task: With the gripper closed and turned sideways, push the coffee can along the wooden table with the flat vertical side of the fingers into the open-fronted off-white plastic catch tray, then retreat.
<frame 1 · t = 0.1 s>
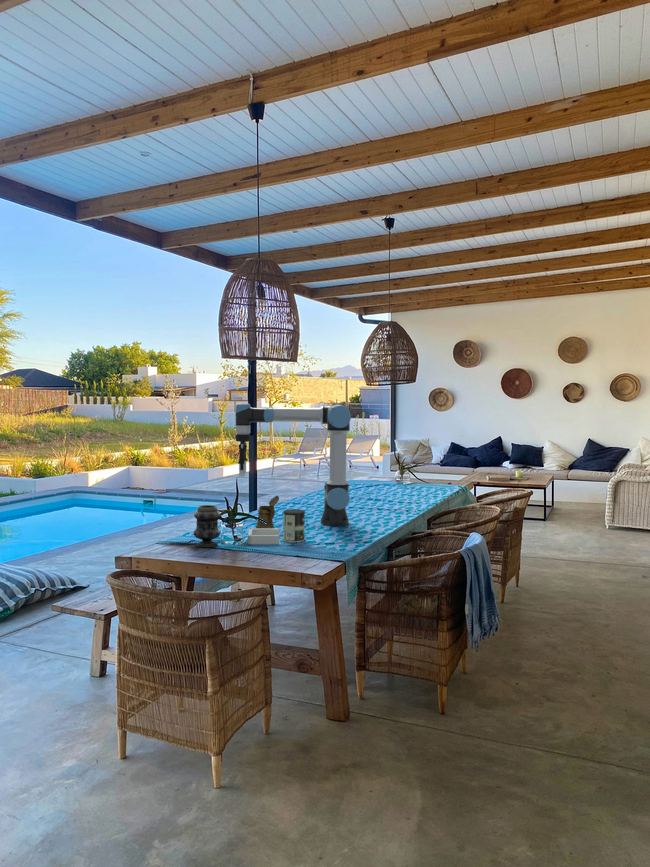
hand: (242, 474, 319), 28 cm above the table, fingers open, 13 cm apart
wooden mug: (267, 528, 322), on the table
catch tray: (265, 540, 295), on the table
stone vase: (207, 545, 284), on the table
coffee can: (293, 540, 296), on the table
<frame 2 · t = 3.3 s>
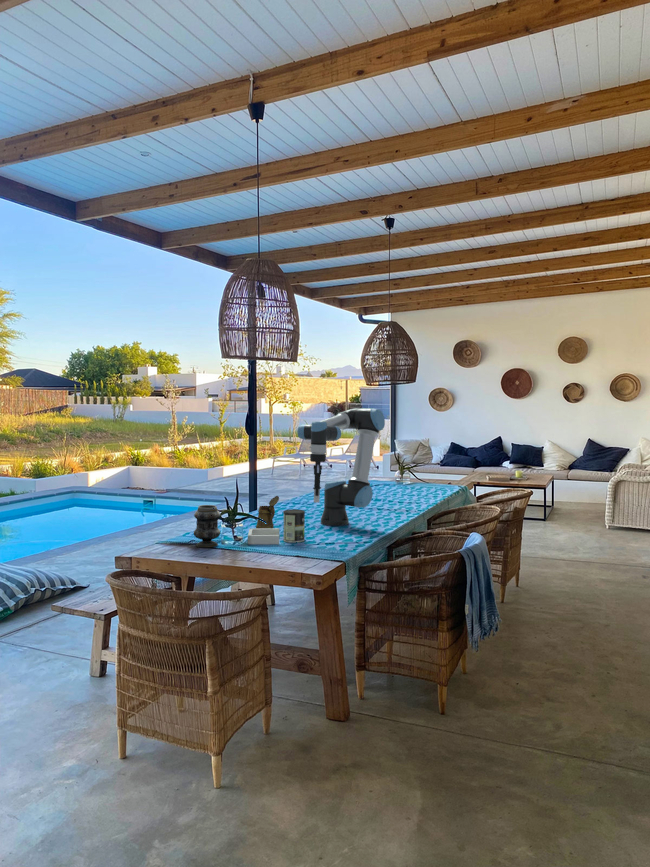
hand: (316, 502, 298), 18 cm above the table, fingers closed
nothing on the table moved.
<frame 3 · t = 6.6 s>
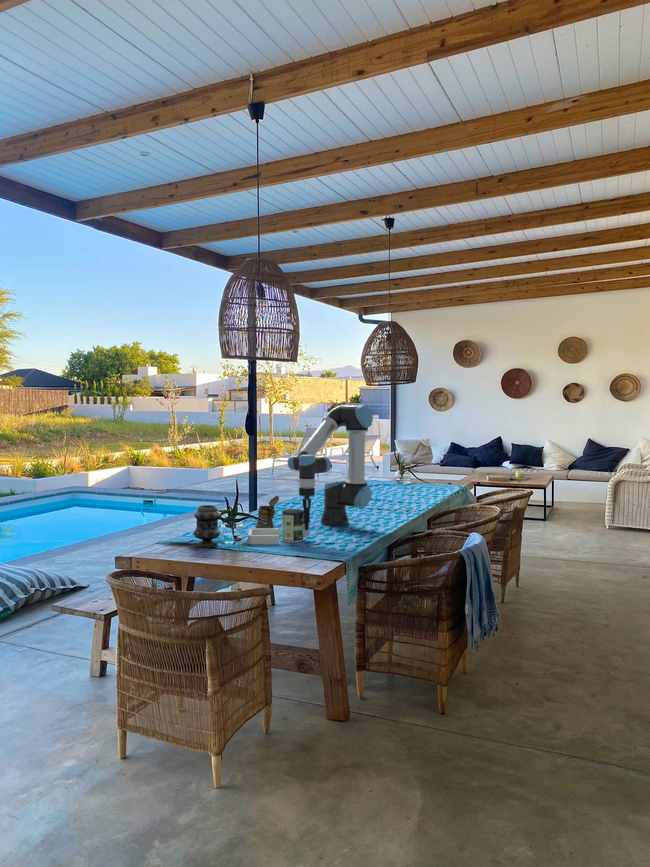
hand: (306, 536, 296), 2 cm above the table, fingers closed
coffee can: (292, 540, 296), on the table, touching gripper
everything else where it was.
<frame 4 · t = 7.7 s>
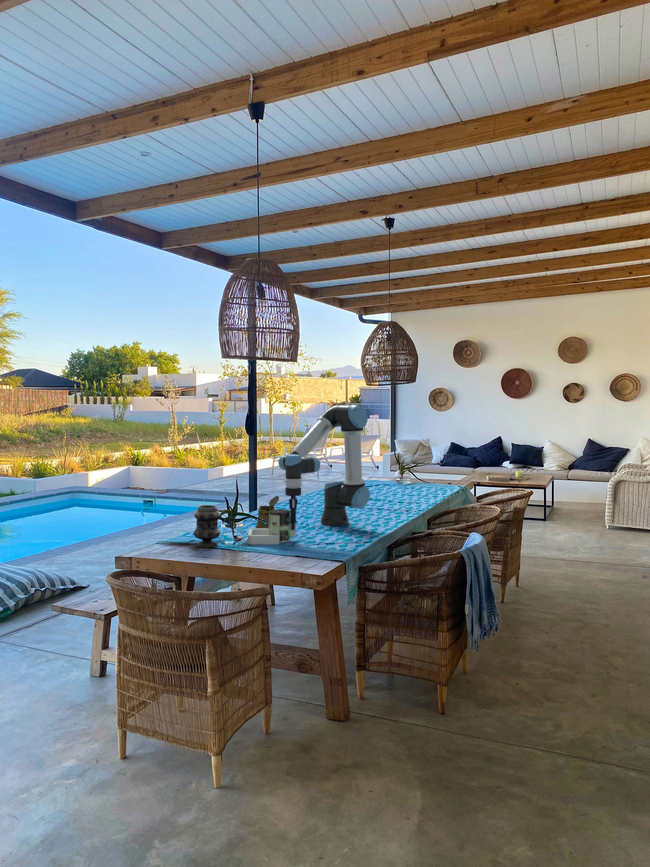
hand: (292, 536, 295), 2 cm above the table, fingers closed
coffee can: (279, 540, 295), on the table, touching gripper
everything else where it was.
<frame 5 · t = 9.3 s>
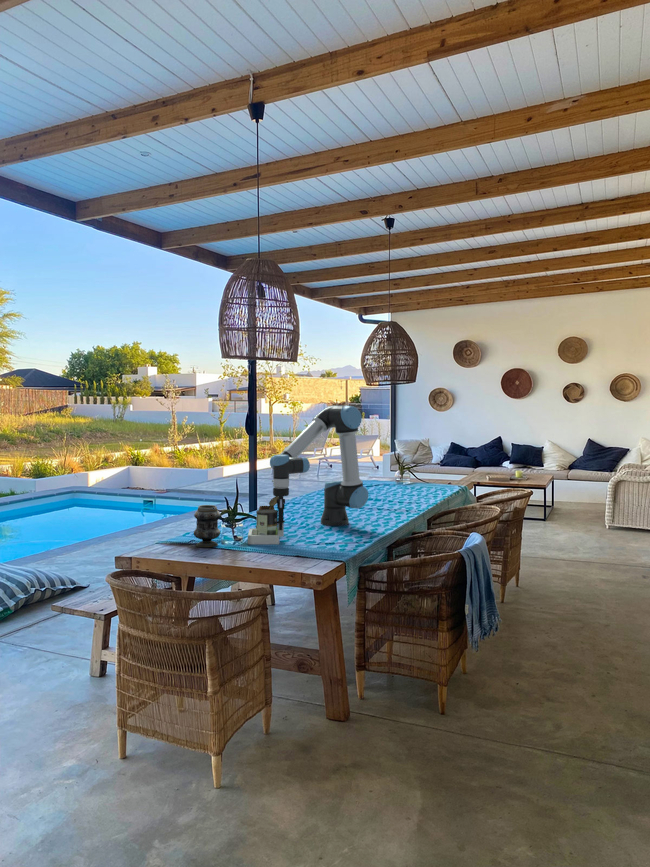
hand: (280, 536, 295), 2 cm above the table, fingers closed
coffee can: (266, 540, 295), on the table, touching gripper
everything else where it was.
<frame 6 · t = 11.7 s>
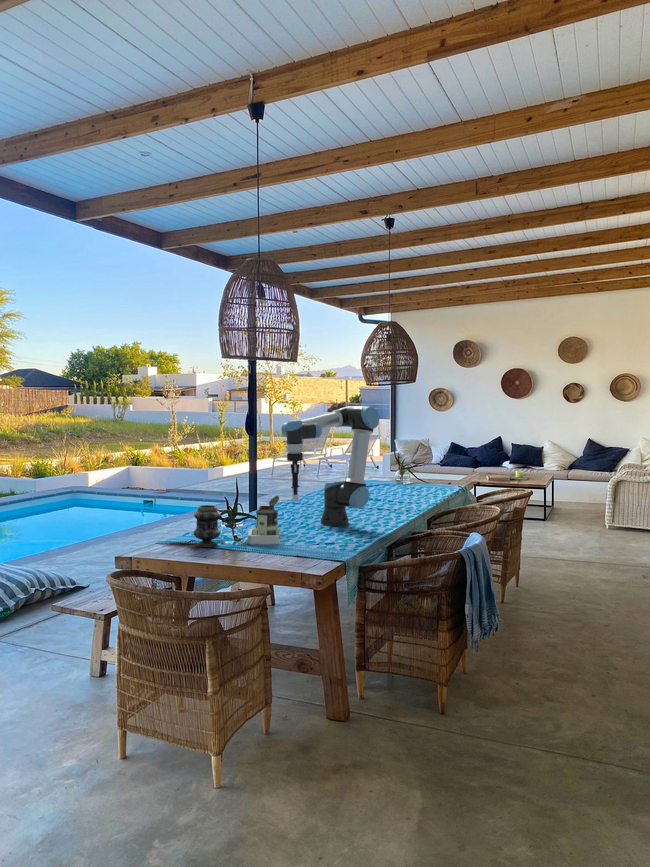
hand: (295, 501, 299), 18 cm above the table, fingers closed
coffee can: (266, 540, 295), on the table
everything else where it was.
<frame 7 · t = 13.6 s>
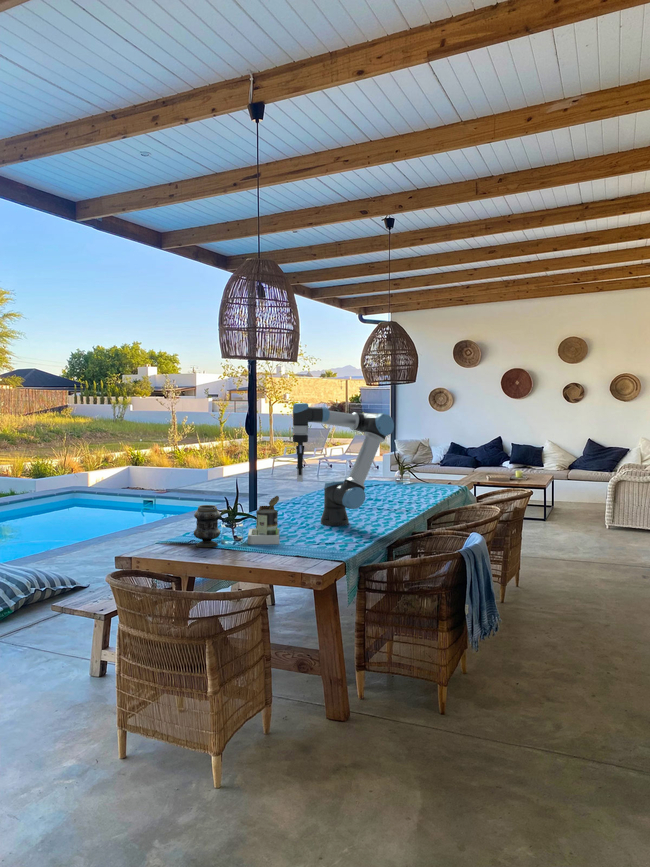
hand: (299, 481, 308), 26 cm above the table, fingers closed
nothing on the table moved.
at the end: coffee can inside the target area (1.9 cm from its centre), on the table; coffee can tilted 0°; the gripper is holding nothing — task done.
